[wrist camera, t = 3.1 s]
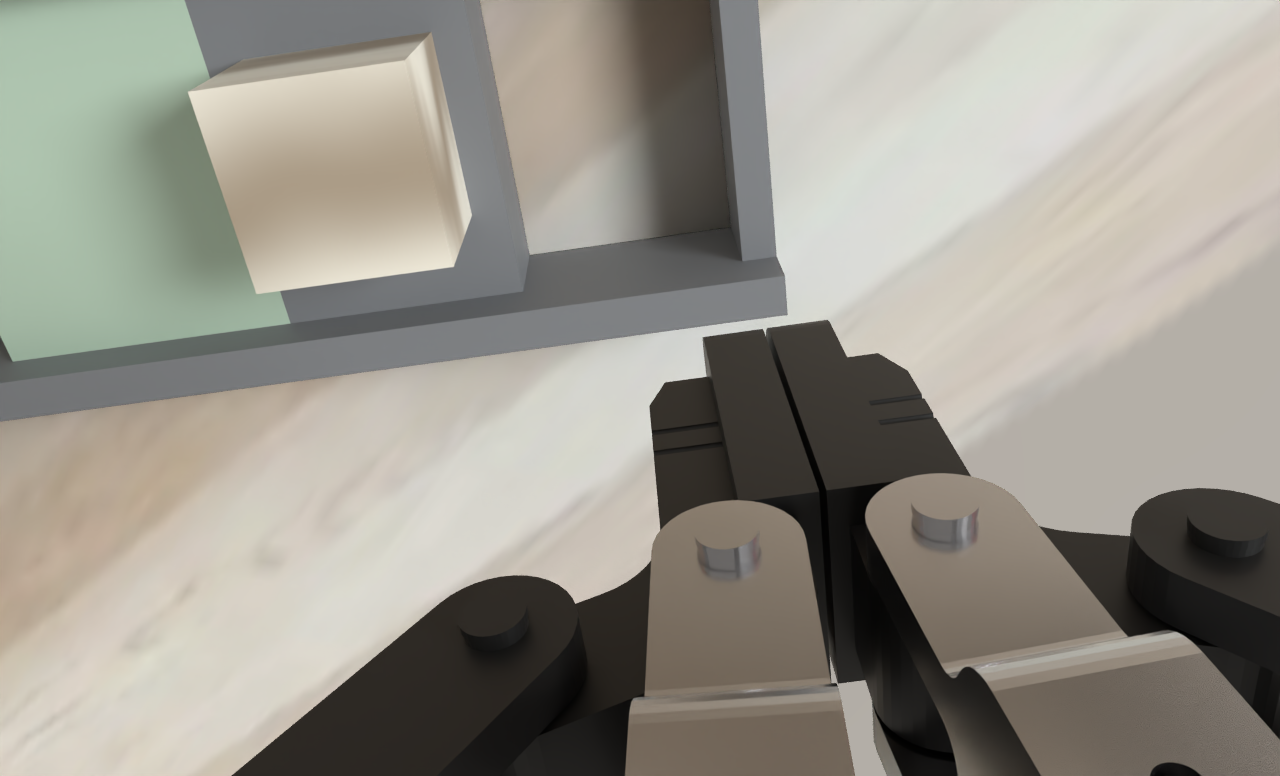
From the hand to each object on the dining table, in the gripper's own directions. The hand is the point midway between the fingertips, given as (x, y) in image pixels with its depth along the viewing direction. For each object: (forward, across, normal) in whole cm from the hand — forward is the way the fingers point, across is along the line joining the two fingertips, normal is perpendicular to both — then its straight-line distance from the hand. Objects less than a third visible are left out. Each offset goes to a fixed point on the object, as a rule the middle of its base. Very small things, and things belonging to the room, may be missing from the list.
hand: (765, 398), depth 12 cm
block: (+17, +9, 0) cm, 19 cm away
